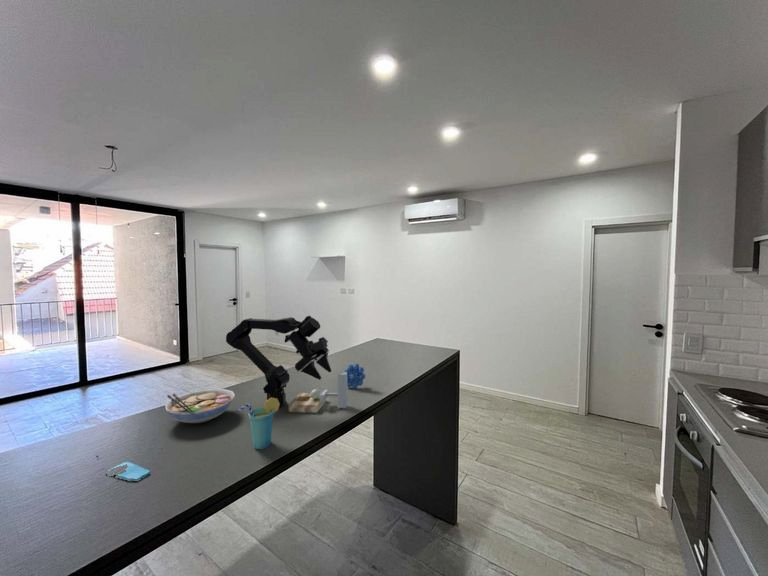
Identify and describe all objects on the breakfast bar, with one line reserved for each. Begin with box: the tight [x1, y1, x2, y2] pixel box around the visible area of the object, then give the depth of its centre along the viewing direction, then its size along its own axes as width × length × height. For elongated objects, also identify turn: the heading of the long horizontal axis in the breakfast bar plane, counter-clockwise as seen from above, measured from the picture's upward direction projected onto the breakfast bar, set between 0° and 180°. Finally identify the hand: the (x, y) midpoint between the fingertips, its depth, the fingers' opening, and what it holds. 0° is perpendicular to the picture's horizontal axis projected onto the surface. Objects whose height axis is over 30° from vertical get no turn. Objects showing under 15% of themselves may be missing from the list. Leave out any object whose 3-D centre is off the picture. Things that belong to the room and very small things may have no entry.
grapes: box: [343, 363, 366, 390], centre depth 152 cm, size 12×7×12 cm, turn 66°
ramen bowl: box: [164, 388, 236, 424], centre depth 121 cm, size 25×23×8 cm
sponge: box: [107, 461, 151, 480], centre depth 88 cm, size 2×12×6 cm
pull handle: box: [320, 371, 349, 409], centre depth 130 cm, size 10×6×14 cm, turn 84°
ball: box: [310, 388, 321, 399], centre depth 131 cm, size 4×4×4 cm
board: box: [287, 392, 327, 414], centre depth 132 cm, size 12×12×3 cm
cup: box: [236, 398, 280, 450], centre depth 101 cm, size 14×8×15 cm, turn 146°
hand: (325, 375), depth 127 cm, fingers open, 9 cm apart
